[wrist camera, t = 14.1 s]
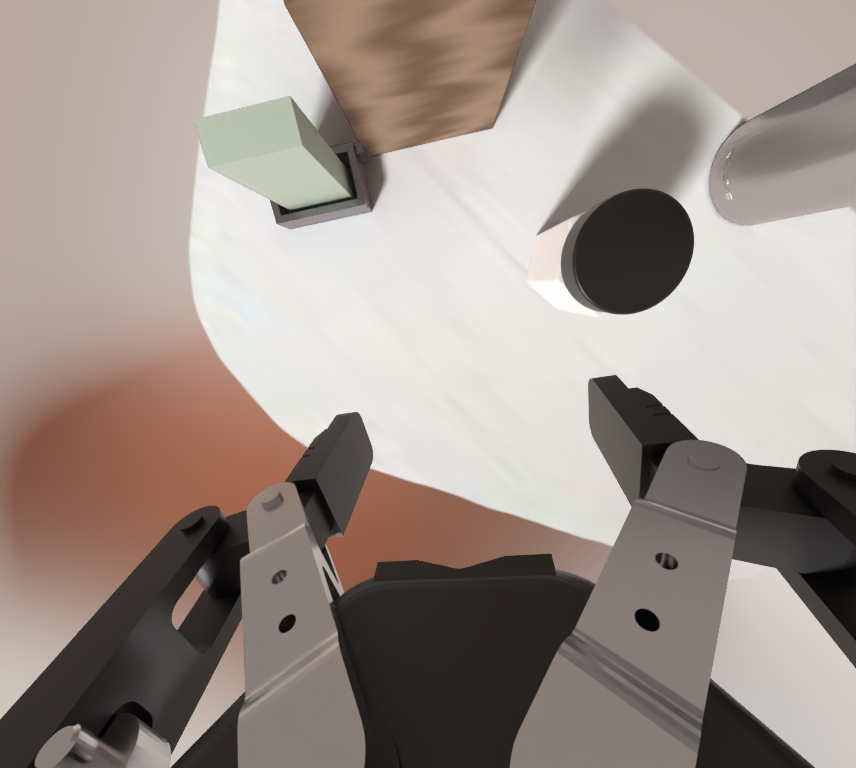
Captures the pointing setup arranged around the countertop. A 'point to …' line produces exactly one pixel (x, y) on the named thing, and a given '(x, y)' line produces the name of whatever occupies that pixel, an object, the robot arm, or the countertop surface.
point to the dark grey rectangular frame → (347, 156)
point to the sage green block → (275, 155)
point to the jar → (614, 255)
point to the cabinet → (414, 63)
